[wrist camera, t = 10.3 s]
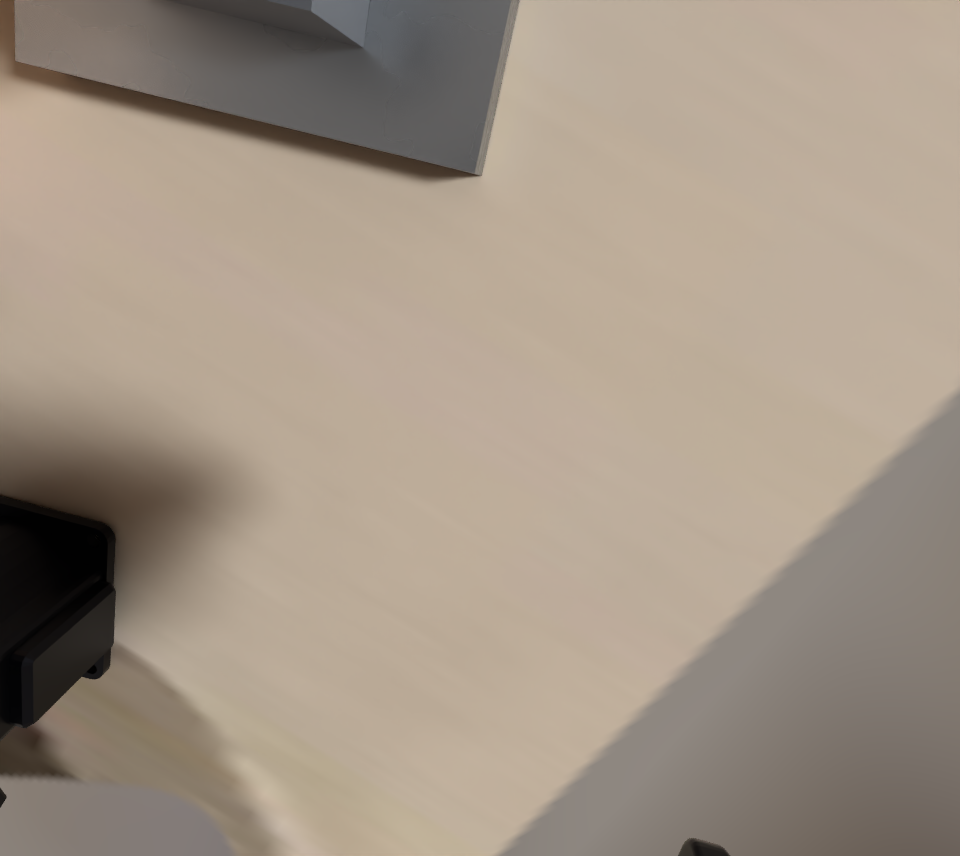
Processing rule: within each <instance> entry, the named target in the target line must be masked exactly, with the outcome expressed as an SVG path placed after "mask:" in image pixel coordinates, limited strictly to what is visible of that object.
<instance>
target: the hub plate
mask: <svg viewBox="0 0 960 856" xmlns="http://www.w3.org/2000/svg"><path fill="white" fill-rule="evenodd" d="M518 4H519V0H370V3H369V10H368V17H367V24H366V31H365V38H364V45H363V48H362V47H358V46H354V45H350V44H345V43H341V42H337V41H333V40H329V39H325V38H320V37H316V36H312V35H308V34H304V33H300V32H296V31H291V30H287V29H283V28H279V27H275V26H271V25H266V24H262V23H258V22H254V21H250V20H246V19H241V18H237V17H233V16H229V15H225V14H221V13H216V12H212V11H208V10H204V9H200V8H196V7H191V6H187V5H183V4H179V3H175V2H171V1H166V0H14V8H15V61H17V62H21V63H25V64H29V65H33V66H36V67H40V68H44V69H48V70H52V71H56V72H60V73H64V74H68V75H72V76H76V77H80V78H84V79H88V80H92V81H96V82H100V83H104V84H108V85H113V86H117V87H121V88H125V89H129V90H133V91H137V92H141V93H145V94H149V95H153V96H157V97H162V98H166V99H170V100H174V101H178V102H182V103H186V104H190V105H194V106H198V107H202V108H206V109H211V110H215V111H219V112H223V113H227V114H231V115H235V116H239V117H243V118H247V119H251V120H255V121H260V122H264V123H268V124H272V125H276V126H280V127H284V128H288V129H292V130H296V131H300V132H304V133H308V134H313V135H317V136H321V137H325V138H329V139H333V140H337V141H341V142H345V143H349V144H353V145H357V146H362V147H366V148H370V149H374V150H378V151H382V152H386V153H390V154H394V155H398V156H402V157H406V158H411V159H415V160H419V161H423V162H427V163H431V164H435V165H439V166H443V167H447V168H451V169H455V170H460V171H464V172H468V173H472V174H476V175H480V176H482V171H483V167H484V162H485V158H486V153H487V148H488V144H489V139H490V134H491V130H492V125H493V120H494V116H495V111H496V106H497V102H498V97H499V93H500V88H501V83H502V79H503V74H504V69H505V65H506V60H507V55H508V51H509V46H510V41H511V37H512V32H513V28H514V23H515V18H516V14H517V9H518Z"/></svg>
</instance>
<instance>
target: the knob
mask: <svg viewBox="0 0 960 856" xmlns="http://www.w3.org/2000/svg"><path fill="white" fill-rule="evenodd" d="M166 1H171V2H175V3H179V4H183V5H187V6H191V7H196V8H200V9H204V10H208V11H212V12H216V13H221V14H225V15H229V16H233V17H237V18H241V19H246V20H250V21H254V22H258V23H262V24H266V25H271V26H275V27H279V28H283V29H287V30H291V31H296V32H300V33H304V34H308V35H312V36H316V37H320V38H325V39H329V40H333V41H337V42H341V43H345V44H350V45H354V46H358V47H362V48H363V45H364V38H365V31H366V24H367V17H368V10H369V3H370V0H166Z"/></svg>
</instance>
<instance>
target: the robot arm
mask: <svg viewBox="0 0 960 856" xmlns="http://www.w3.org/2000/svg"><path fill="white" fill-rule="evenodd" d="M95 535H97V536H98V537H99V538H100V540H101V541H99V540H98V539H97V538H96V537H95ZM114 559H115V534H114V532H113V531H112V529H111V528H110V527H109V526H108V525H106V524H104V523H101V522H97V521H94V520H90V519H86V518H82V517H78V516H75V515H71V514H67V513H63V512H60V511H56V510H52V509H48V508H44V507H41V506H37V505H33V504H29V503H26V502H22V501H18V500H14V499H10V498H7V497H3V496H0V741H1V740H2V739H3V738H4V737H5V736H6V735H7V734H8V733H9V732H10V731H11V730H12V729H13V728H14V727H15V726H18V727H21V728H27V727H29V726H30V725H32V724H34V723H35V722H37V721H38V720H39V719H40V718H41V717H42V716H43V715H44V714H45V713H46V712H47V711H48V710H49V709H50V708H51V707H52V706H53V705H54V704H55V703H56V702H57V701H58V700H59V699H60V698H61V697H62V696H63V695H64V694H65V693H66V692H67V691H68V690H69V689H70V688H71V687H72V686H73V685H74V684H75V683H76V682H77V681H78V680H79V679H80V678H81V677H85V678H89V679H98V678H100V677H101V676H102V675H103V674H104V673H105V672H106V671H107V670H108V669H109V667H110V656H111V647H112V645H113V643H114V619H115V596H116V591H115V588H114V585H113V583H114ZM5 799H6V795H5V794H4V792H3V791H2V790H1V788H0V807H1V806H2V804H3V802H4V801H5ZM678 856H730V855H729V853H728V852H727V851H726V850H725V849H724V848H723V847H721V846H720V845H717V844H714V843H710V842H707V841H703V840H699V839H696V838H689V839H688V840H687V841H685V843H684V844H683V846H682V848H681V851H680V852H679V855H678Z"/></svg>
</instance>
